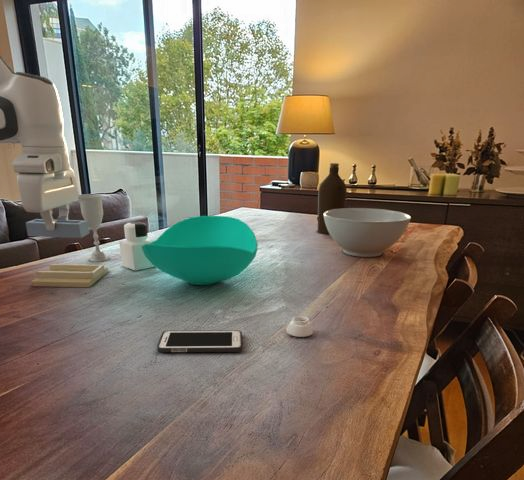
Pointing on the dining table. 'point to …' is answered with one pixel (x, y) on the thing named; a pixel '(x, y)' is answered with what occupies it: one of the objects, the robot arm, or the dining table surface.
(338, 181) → the olive oil
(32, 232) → the blue pad
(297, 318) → the lidless jar
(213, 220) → the table top decor
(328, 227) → the decorative bowl
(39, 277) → the base pad
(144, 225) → the medicine bottle
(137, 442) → the dining table surface
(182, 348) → the cell phone
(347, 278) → the dining table surface
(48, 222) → the robot arm
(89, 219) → the chalice
